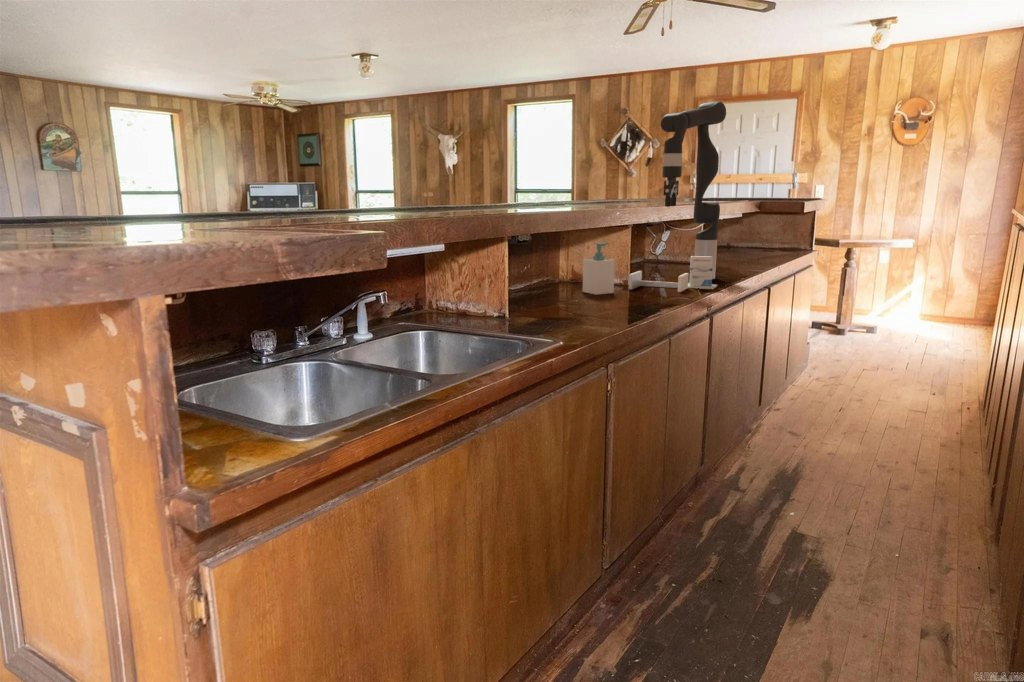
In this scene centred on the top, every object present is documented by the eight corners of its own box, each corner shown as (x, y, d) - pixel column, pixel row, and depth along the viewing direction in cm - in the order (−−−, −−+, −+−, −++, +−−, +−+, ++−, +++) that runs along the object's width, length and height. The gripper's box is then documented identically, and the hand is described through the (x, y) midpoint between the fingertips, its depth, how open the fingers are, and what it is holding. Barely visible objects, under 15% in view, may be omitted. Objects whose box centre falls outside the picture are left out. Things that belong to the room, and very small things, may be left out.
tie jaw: (684, 287, 274) (685, 272, 273) (687, 288, 274) (688, 273, 272) (677, 291, 264) (678, 276, 263) (680, 292, 263) (681, 276, 262)
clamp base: (638, 285, 284) (638, 270, 283) (684, 287, 276) (684, 273, 275) (628, 289, 273) (628, 274, 271) (675, 292, 264) (676, 277, 263)
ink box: (710, 284, 281) (712, 255, 278) (711, 286, 276) (713, 257, 274) (688, 284, 282) (690, 255, 280) (689, 285, 277) (691, 256, 275)
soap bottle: (614, 293, 264) (615, 243, 259) (596, 294, 259) (597, 244, 255) (600, 290, 271) (601, 241, 267) (582, 292, 266) (583, 242, 262)
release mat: (687, 284, 286) (688, 283, 286) (717, 286, 281) (717, 284, 280) (682, 287, 277) (682, 286, 277) (712, 289, 272) (712, 287, 272)
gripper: (677, 164, 268) (675, 206, 272) (685, 165, 280) (683, 206, 284) (658, 165, 271) (656, 206, 275) (667, 166, 284) (665, 205, 287)
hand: (670, 206), depth 279 cm, fingers open, 8 cm apart
